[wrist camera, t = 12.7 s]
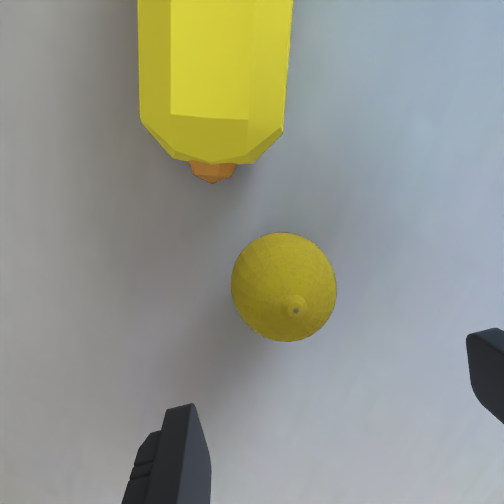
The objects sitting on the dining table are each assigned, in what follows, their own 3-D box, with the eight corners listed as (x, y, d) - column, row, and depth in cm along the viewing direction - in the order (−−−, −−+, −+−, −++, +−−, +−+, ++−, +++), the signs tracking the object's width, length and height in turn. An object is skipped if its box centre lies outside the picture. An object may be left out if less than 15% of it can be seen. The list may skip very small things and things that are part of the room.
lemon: (283, 322, 25) (308, 390, 17) (213, 277, 24) (206, 327, 16) (333, 255, 24) (383, 294, 16) (263, 206, 23) (281, 222, 15)
